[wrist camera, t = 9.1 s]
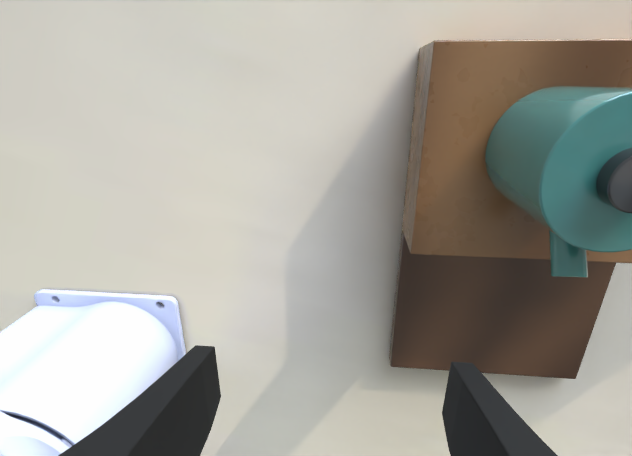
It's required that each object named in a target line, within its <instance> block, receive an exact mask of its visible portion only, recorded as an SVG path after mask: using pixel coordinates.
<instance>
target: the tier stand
mask: <svg viewBox="0 0 632 456" xmlns="http://www.w3.org/2000/svg"><path fill="white" fill-rule="evenodd" d="M557 86H580V87H630V88H632V39H592V40H437V41H433V42H431V43H429V44H427V45H425V46H423V47H421V48H420V49H419V59H418V70H417V80H416V90H415V100H414V110H413V121H412V131H411V141H410V151H409V161H408V172H407V182H406V192H405V202H404V212H403V222H402V234H401V244H400V254H399V264H398V275H397V285H396V295H395V305H394V315H393V325H392V336H391V346H390V356H389V360H390V366H391V367H404V368H419V369H434V370H449V371H450V366H451V362H466V363H473V364H474V365H475V366H476V367H477V368H478V370H479V371H480V372H481V373H494V374H509V375H524V376H539V377H554V378H569V379H575V378H576V376H577V373H578V370H579V367H580V364H581V362H582V359H583V356H584V353H585V350H586V347H587V344H588V341H589V339H590V336H591V333H592V330H593V327H594V324H595V321H596V319H597V316H598V313H599V310H600V307H601V304H602V301H603V298H604V296H605V293H606V290H607V287H608V284H609V281H610V278H611V275H612V273H613V270H614V267H615V264H616V262H618V263H632V250H628V251H621V252H594V251H589V250H587V268H588V277H587V278H565V277H552V276H551V271H550V248H549V229H548V228H546V227H545V226H544V225H542V224H541V223H540V222H538V221H537V220H536V219H534V218H533V217H532V216H530V215H529V214H528V213H526V212H525V211H523V210H522V209H521V208H519V207H518V206H517V205H515V204H514V203H513V202H511V201H510V200H509V199H507V198H506V197H505V196H503V195H502V194H501V193H500V192H499V191H498V190H497V189H496V188H495V187H494V185H493V184H492V182H491V180H490V178H489V176H488V173H487V169H486V163H485V154H486V147H487V143H488V139H489V137H490V134H491V132H492V130H493V128H494V126H495V125H496V123H497V122H498V120H499V119H500V117H501V116H502V115H503V114H504V113H505V112H506V111H507V110H508V109H509V108H510V107H511V106H512V105H513V104H515V103H516V102H517V101H519V100H520V99H522V98H523V97H525V96H527V95H529V94H531V93H533V92H535V91H538V90H541V89H544V88H549V87H557Z"/></svg>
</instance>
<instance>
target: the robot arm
mask: <svg viewBox="0 0 632 456" xmlns="http://www.w3.org/2000/svg"><path fill="white" fill-rule="evenodd" d="M57 297H58V298H59V299H58V298H57ZM34 298H35V301H36V304H37V306H36V307H35V308H34V309H32V310H31V311H29V312H28V313H27V314H25V315H24V316H22V317H21V318H20V319H18V320H17V321H15V322H14V323H13V324H11V325H10V326H8V327H7V328H6V329H4V330H3V331H1V332H0V456H200V454H201V452H202V449H203V447H204V445H205V442H206V440H207V438H208V435H209V433H210V430H211V427H212V424H213V421H214V418H215V415H216V411H217V408H218V404H219V401H220V397H221V394H220V386H219V379H218V371H217V363H216V355H215V347H211V346H195V347H193V348H192V349H191V350H190V351H189V352H188V353H187V354H186V349H185V343H184V337H183V331H182V325H181V318H180V312H179V306H178V302H177V300H176V299H175V298H174V297H171V296H160V295H141V294H122V293H104V292H85V291H66V290H47V289H41V290H39V291H38V292H36V293H35V295H34ZM160 302H162V303H163V304H164V305H161V304H160ZM442 415H443V420H444V426H445V431H446V437H447V442H448V447H449V451H450V454H451V456H557V455H556V454H555V453H554V452H553V451H552V450H551V449H550V448H549V447H548V446H547V445H546V444H545V443H544V442H543V441H542V440H541V439H540V438H539V437H538V435H537V434H536V433H535V432H534V431H533V430H532V429H531V428H530V427H529V426H528V425H527V424H526V423H525V422H524V421H523V419H522V418H521V417H520V416H519V415H518V414H517V413H516V412H515V411H514V410H513V409H512V407H511V406H510V405H509V404H508V403H507V402H506V401H505V400H504V398H503V397H502V396H501V395H500V394H499V393H498V392H497V390H496V389H495V388H494V387H493V386H492V385H491V384H490V382H489V381H488V380H487V379H486V378H485V377H484V375H483V374H482V373H481V372H480V371H479V370H478V368H477V367H476V366H475V365H474V364H473V363H466V362H451V366H450V372H449V377H448V383H447V388H446V394H445V400H444V405H443V411H442Z"/></svg>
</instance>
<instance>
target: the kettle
mask: <svg viewBox="0 0 632 456" xmlns="http://www.w3.org/2000/svg"><path fill="white" fill-rule="evenodd" d="M485 163H486V169H487V173H488V176H489V178H490V180H491V182H492V184H493V185H494V187H495V188H496V189H497V190H498V191H499V192H500V193H501V194H502V195H503V196H505V197H506V198H507V199H509V200H510V201H511V202H513V203H514V204H515V205H517V206H518V207H519V208H521V209H522V210H523V211H525V212H526V213H528V214H529V215H530V216H532V217H533V218H534V219H536V220H537V221H538V222H540V223H541V224H542V225H544V226H545V227H546V228H548V229H549V248H550V271H551V276H552V277H565V278H587V277H588V268H587V250H589V251H594V252H621V251H628V250H632V88H630V87H580V86H557V87H549V88H544V89H541V90H538V91H535V92H533V93H531V94H529V95H527V96H525V97H523V98H522V99H520V100H519V101H517V102H516V103H515V104H513V105H512V106H511V107H510V108H509V109H508V110H507V111H506V112H505V113H504V114H503V115H502V116H501V117H500V119H499V120H498V122H497V123H496V125H495V126H494V128H493V130H492V132H491V134H490V137H489V139H488V143H487V147H486V154H485Z"/></svg>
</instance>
